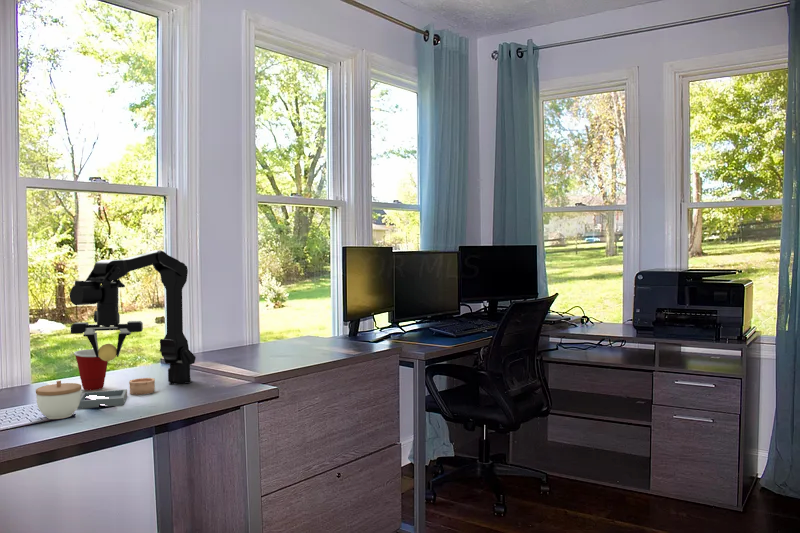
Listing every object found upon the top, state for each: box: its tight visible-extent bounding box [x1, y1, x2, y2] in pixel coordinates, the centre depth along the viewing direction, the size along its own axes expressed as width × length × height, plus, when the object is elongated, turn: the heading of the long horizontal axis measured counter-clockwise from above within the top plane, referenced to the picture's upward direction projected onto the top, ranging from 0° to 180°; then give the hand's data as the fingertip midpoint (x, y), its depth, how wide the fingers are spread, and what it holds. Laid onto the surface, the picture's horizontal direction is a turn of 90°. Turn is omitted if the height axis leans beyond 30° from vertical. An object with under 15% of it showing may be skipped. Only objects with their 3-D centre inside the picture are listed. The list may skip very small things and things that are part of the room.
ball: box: [98, 343, 117, 362], centre depth 187 cm, size 5×5×5 cm
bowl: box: [128, 377, 156, 396], centre depth 198 cm, size 7×7×4 cm
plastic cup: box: [73, 348, 109, 391], centre depth 203 cm, size 11×11×12 cm
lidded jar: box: [35, 380, 82, 420], centre depth 170 cm, size 11×11×9 cm
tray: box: [77, 389, 128, 410], centre depth 185 cm, size 12×12×2 cm
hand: (107, 357), depth 187 cm, fingers closed on ball, 5 cm apart
